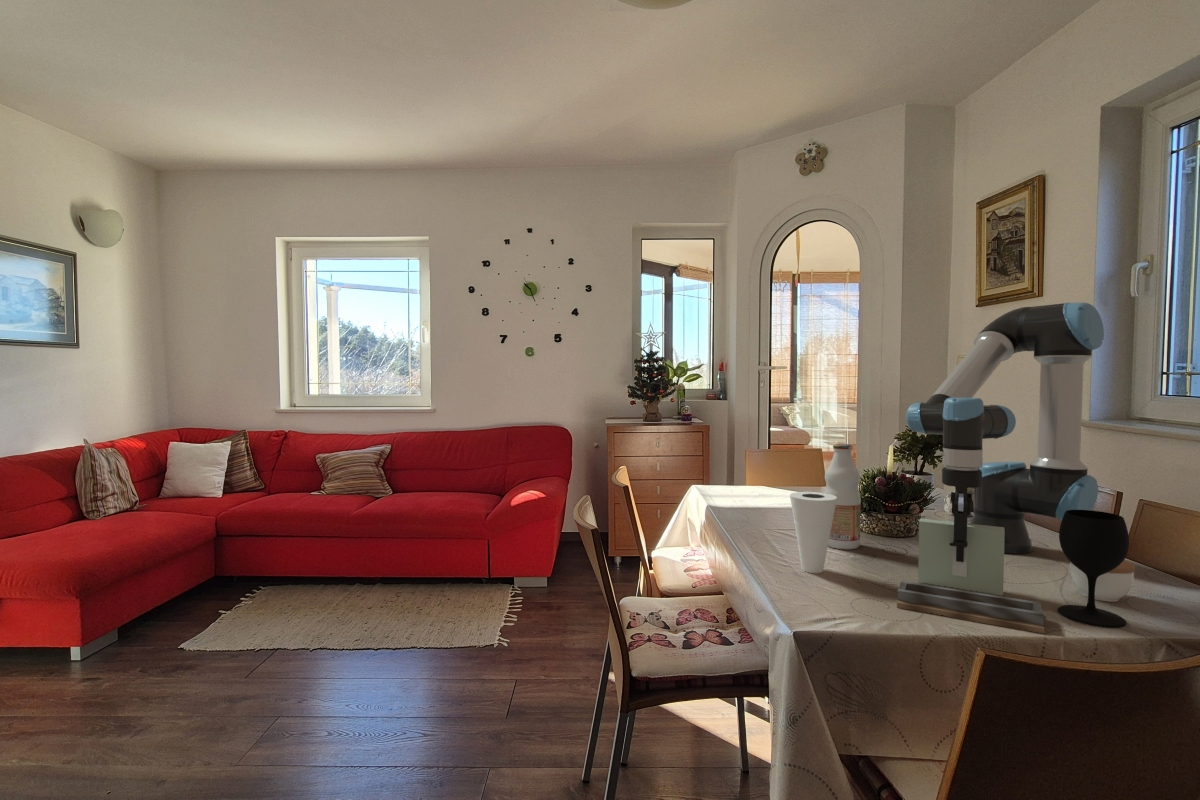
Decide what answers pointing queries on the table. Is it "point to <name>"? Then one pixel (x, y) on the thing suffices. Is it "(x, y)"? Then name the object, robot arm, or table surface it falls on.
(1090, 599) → the wine glass
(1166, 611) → the table surface
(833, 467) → the fruit juice
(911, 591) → the door track
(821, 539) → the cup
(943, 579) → the door panel
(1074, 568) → the lidded jar
